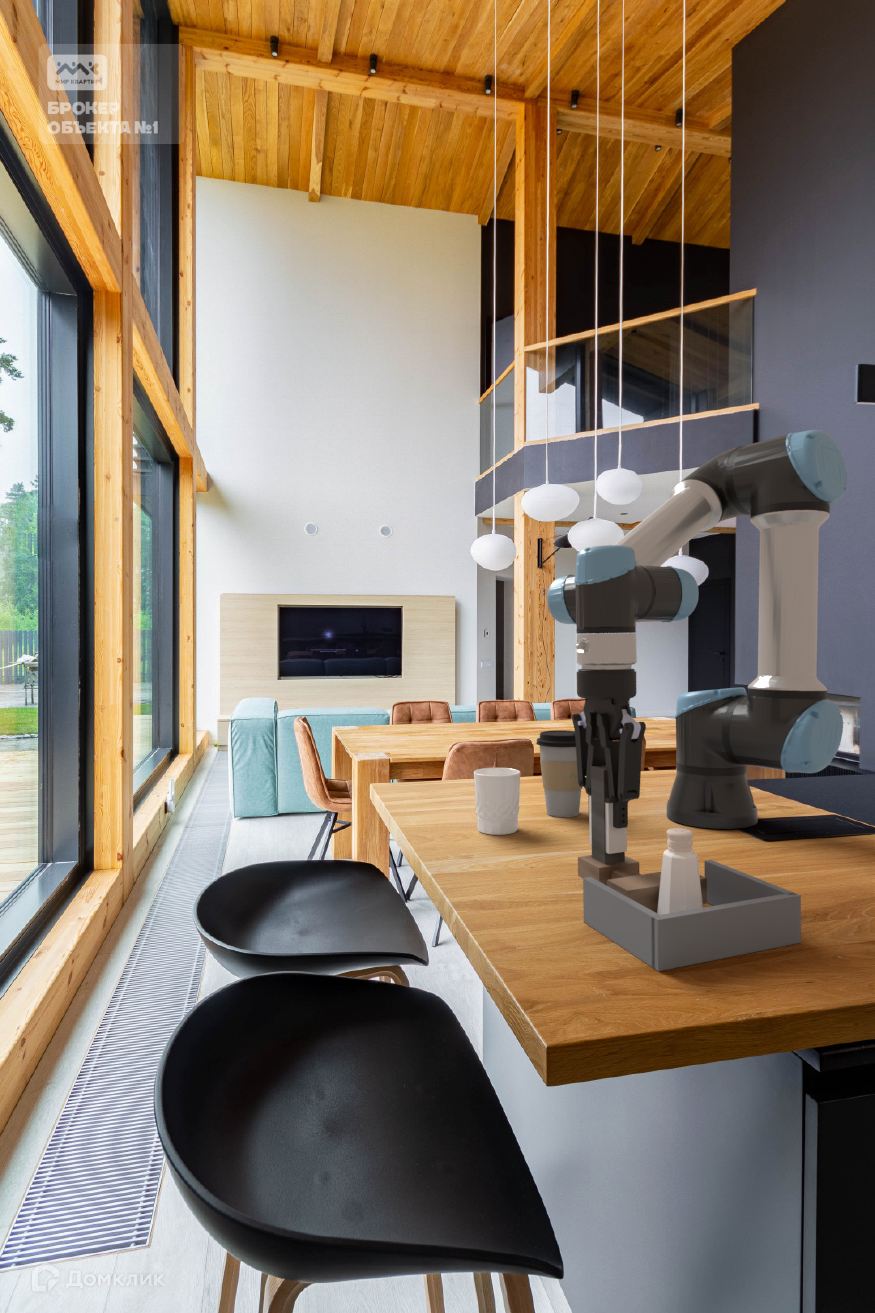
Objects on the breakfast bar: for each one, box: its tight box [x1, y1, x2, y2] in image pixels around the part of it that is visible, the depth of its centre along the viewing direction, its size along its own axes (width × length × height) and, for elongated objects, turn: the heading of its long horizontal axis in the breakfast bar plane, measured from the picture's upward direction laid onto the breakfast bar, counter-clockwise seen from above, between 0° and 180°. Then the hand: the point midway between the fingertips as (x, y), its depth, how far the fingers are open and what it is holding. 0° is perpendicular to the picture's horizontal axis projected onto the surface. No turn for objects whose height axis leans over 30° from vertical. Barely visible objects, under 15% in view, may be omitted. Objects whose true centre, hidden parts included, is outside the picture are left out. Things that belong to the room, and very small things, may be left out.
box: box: [582, 859, 802, 972], centre depth 80 cm, size 18×14×5 cm
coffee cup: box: [535, 729, 583, 818], centre depth 135 cm, size 9×9×15 cm
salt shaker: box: [656, 827, 704, 915], centre depth 80 cm, size 5×5×11 cm
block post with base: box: [577, 765, 708, 913], centre depth 90 cm, size 11×14×14 cm
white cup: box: [473, 767, 521, 836], centre depth 124 cm, size 8×8×10 cm
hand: (607, 847), depth 94 cm, fingers closed on block post with base, 3 cm apart
